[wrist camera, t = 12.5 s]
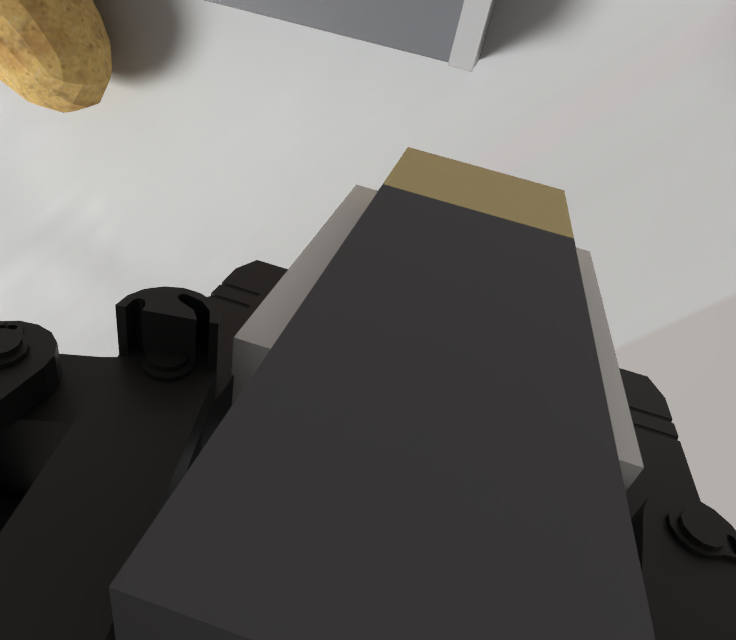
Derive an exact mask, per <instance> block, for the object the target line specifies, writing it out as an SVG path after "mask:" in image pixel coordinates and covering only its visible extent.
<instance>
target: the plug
mask: <svg viewBox="0 0 736 640" xmlns="http://www.w3.org/2000/svg"><path fill="white" fill-rule="evenodd" d="M109 593H110V601H111V608H112V616H113V623H114V630H115V638H116V640H655V635H654V630H653V625H652V620H651V615H650V610H649V605H648V600H647V595H646V591H645V586H644V581H643V576H642V571H641V566H640V561H639V556H638V551H637V546H636V541H635V537H634V532H633V527H632V522H631V517H630V512H629V507H628V502H627V497H626V492H625V487H624V482H623V478H622V473H621V468H620V463H619V458H618V453H617V448H616V443H615V438H614V433H613V428H612V423H611V419H610V414H609V409H608V404H607V399H606V394H605V389H604V384H603V379H602V374H601V369H600V364H599V360H598V355H597V350H596V345H595V340H594V335H593V330H592V325H591V320H590V315H589V310H588V305H587V301H586V296H585V291H584V286H583V281H582V276H581V271H580V266H579V261H578V256H577V251H576V246H575V242H574V237H573V232H572V227H571V222H570V217H569V212H568V207H567V202H566V197H565V192H564V190H561V189H557V188H553V187H550V186H546V185H543V184H539V183H535V182H532V181H528V180H525V179H521V178H517V177H514V176H510V175H507V174H503V173H499V172H496V171H492V170H489V169H485V168H481V167H478V166H474V165H471V164H467V163H463V162H460V161H456V160H453V159H449V158H445V157H442V156H438V155H435V154H431V153H427V152H424V151H420V150H417V149H413V148H409V147H408V148H407V149H406V151H405V152H404V154H403V155H402V157H401V158H400V160H399V161H398V163H397V164H396V166H395V167H394V168H393V170H392V171H391V173H390V174H389V176H388V177H387V179H386V180H385V182H384V183H383V185H382V186H381V188H380V189H379V191H378V192H377V193H376V195H375V196H374V198H373V199H372V201H371V202H370V204H369V205H368V207H367V208H366V210H365V211H364V213H363V214H362V215H361V217H360V218H359V220H358V221H357V223H356V224H355V226H354V227H353V229H352V230H351V232H350V233H349V235H348V236H347V238H346V239H345V240H344V242H343V243H342V245H341V246H340V248H339V249H338V251H337V252H336V254H335V255H334V257H333V258H332V260H331V261H330V262H329V264H328V265H327V267H326V268H325V270H324V271H323V273H322V274H321V276H320V277H319V279H318V280H317V282H316V283H315V285H314V286H313V287H312V289H311V290H310V292H309V293H308V295H307V296H306V298H305V299H304V301H303V302H302V304H301V305H300V307H299V308H298V310H297V311H296V312H295V314H294V315H293V317H292V318H291V320H290V321H289V323H288V324H287V326H286V327H285V329H284V330H283V332H282V333H281V334H280V336H279V337H278V339H277V340H276V342H275V343H274V345H273V346H272V348H271V349H270V351H269V352H268V354H267V355H266V357H265V358H264V359H263V361H262V362H261V364H260V365H259V367H258V368H257V370H256V371H255V373H254V374H253V376H252V377H251V379H250V380H249V381H248V383H247V384H246V386H245V387H244V389H243V390H242V392H241V393H240V395H239V396H238V398H237V399H236V401H235V402H234V404H233V405H232V406H231V408H230V409H229V411H228V412H227V414H226V415H225V417H224V418H223V420H222V421H221V423H220V424H219V426H218V427H217V428H216V430H215V431H214V433H213V434H212V436H211V437H210V439H209V440H208V442H207V443H206V445H205V446H204V448H203V449H202V451H201V452H200V453H199V455H198V456H197V458H196V459H195V461H194V462H193V464H192V465H191V467H190V468H189V470H188V471H187V473H186V474H185V475H184V477H183V478H182V480H181V481H180V483H179V484H178V486H177V487H176V489H175V490H174V492H173V493H172V495H171V496H170V498H169V499H168V500H167V502H166V503H165V505H164V506H163V508H162V509H161V511H160V512H159V514H158V515H157V517H156V518H155V520H154V521H153V523H152V524H151V525H150V527H149V528H148V530H147V531H146V533H145V534H144V536H143V537H142V539H141V540H140V542H139V543H138V545H137V546H136V547H135V549H134V550H133V552H132V553H131V555H130V556H129V558H128V559H127V561H126V562H125V564H124V565H123V567H122V568H121V570H120V571H119V572H118V574H117V575H116V577H115V578H114V580H113V581H112V583H111V584H110V586H109Z"/></svg>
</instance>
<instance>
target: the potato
mask: <svg viewBox="0 0 736 640" xmlns="http://www.w3.org/2000/svg"><path fill="white" fill-rule="evenodd" d="M111 72H112V59H111V46H110V40H109V37H108V35H107V32H106V29H105V26H104V23H103V21H102V18H101V15H100V13H99V11H98V9H97V7H96V6H95V4H94V2H93V0H0V80H1V81H2V82H4V83H5V84H6V85H7V86H9V87H10V88H11V89H13V90H14V91H15V92H16V93H18V94H19V95H20V96H22V97H23V98H24V99H26V100H27V101H29V102H31V103H34V104H36V105H39V106H42V107H46V108H49V109H53V110H56V111H60V112H63V113H64V112H71V111H77V110H80V109H83V108H86V107H89V106H92V105H95V104H98V103H100V101H101V99H102V96H103V94H104V92H105V89H106V87H107V85H108V83H109V80H110V78H111Z"/></svg>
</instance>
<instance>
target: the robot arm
mask: <svg viewBox="0 0 736 640" xmlns="http://www.w3.org/2000/svg"><path fill="white" fill-rule="evenodd" d="M377 192H378V191H377V190H373V189H370V188H366V187H363V186H359V185H356V186H355V187H354V188H353V190H352V191H351V192H350V193H349V195H348V196H347V197H346V198H345V200H344V201H343V202H342V203H341V205H340V206H339V207H338V208H337V210H336V211H335V212H334V213H333V215H332V216H331V217H330V218H329V219H328V221H327V222H326V223H325V224H324V226H323V227H322V228H321V229H320V231H319V232H318V233H317V234H316V236H315V237H314V238H313V239H312V241H311V242H310V243H309V244H308V246H307V247H306V248H305V249H304V251H303V252H302V253H301V254H300V256H299V257H298V258H297V259H296V261H295V262H294V263H293V264H292V266H291V267H290V268H289V269H285V268H281V267H278V266H275V265H271V264H268V263H265V262H262V261H258V260H256V261H254V262H251V263H249V264H246V265H244V266H241V267H239V268H236V269H235V270H234V271H233V272H232V273H231V274H230V275H229V276H228V277H227V278H226V279H225V280H224V281H223V282H222V285H219V286H218V287H217V288H216V289H215V290H214V291H213V292H212V293H211V296H210V297H209V296H208V297H206V296H204V295H202V294H201V293H198V292H195V291H191V290H188V289H185V288H175V287H157V288H149V289H143V290H141V291H138V292H135V293H133V294H130V295H127V296H126V297H125V298H124V299H122V300H121V301H120V302H119V303H117V304H116V305H115V306H116V319H117V331H118V344H119V356H118V357H92V356H80V355H67V354H59V351H58V345H57V342H56V340H55V338H54V336H53V335H52V333H51V332H50V331H48V330H46V329H45V328H43V327H41V326H39V325H37V324H32V323H27V322H22V321H0V640H116V638H115V630H114V623H113V616H112V608H111V601H110V593H109V586H110V584H111V583H112V581H113V580H114V578H115V577H116V575H117V574H118V572H119V571H120V570H121V568H122V567H123V565H124V564H125V562H126V561H127V559H128V558H129V556H130V555H131V553H132V552H133V550H134V549H135V547H136V546H137V545H138V543H139V542H140V540H141V539H142V537H143V536H144V534H145V533H146V531H147V530H148V528H149V527H150V525H151V524H152V523H153V521H154V520H155V518H156V517H157V515H158V514H159V512H160V511H161V509H162V508H163V506H164V505H165V503H166V502H167V500H168V499H169V498H170V496H171V495H172V493H173V492H174V490H175V489H176V487H177V486H178V484H179V483H180V481H181V480H182V478H183V477H184V475H185V474H186V473H187V471H188V470H189V468H190V467H191V465H192V464H193V462H194V461H195V459H196V458H197V456H198V455H199V453H200V452H201V451H202V449H203V448H204V446H205V445H206V443H207V442H208V440H209V439H210V437H211V436H212V434H213V433H214V431H215V430H216V428H217V427H218V426H219V424H220V423H221V421H222V420H223V418H224V417H225V415H226V414H227V412H228V411H229V409H230V408H231V406H232V405H233V404H234V402H235V401H236V399H237V398H238V396H239V395H240V393H241V392H242V390H243V389H244V387H245V386H246V384H247V383H248V381H249V380H250V379H251V377H252V376H253V374H254V373H255V371H256V370H257V368H258V367H259V365H260V364H261V362H262V361H263V359H264V358H265V357H266V355H267V354H268V352H269V351H270V349H271V348H272V346H273V345H274V343H275V342H276V340H277V339H278V337H279V336H280V334H281V333H282V332H283V330H284V329H285V327H286V326H287V324H288V323H289V321H290V320H291V318H292V317H293V315H294V314H295V312H296V311H297V310H298V308H299V307H300V305H301V304H302V302H303V301H304V299H305V298H306V296H307V295H308V293H309V292H310V290H311V289H312V287H313V286H314V285H315V283H316V282H317V280H318V279H319V277H320V276H321V274H322V273H323V271H324V270H325V268H326V267H327V265H328V264H329V262H330V261H331V260H332V258H333V257H334V255H335V254H336V252H337V251H338V249H339V248H340V246H341V245H342V243H343V242H344V240H345V239H346V238H347V236H348V235H349V233H350V232H351V230H352V229H353V227H354V226H355V224H356V223H357V221H358V220H359V218H360V217H361V215H362V214H363V213H364V211H365V210H366V208H367V207H368V205H369V204H370V202H371V201H372V199H373V198H374V196H375V195H376V193H377ZM576 251H577V256H578V261H579V266H580V271H581V276H582V281H583V286H584V291H585V296H586V301H587V305H588V310H589V315H590V320H591V325H592V330H593V335H594V340H595V345H596V350H597V355H598V360H599V364H600V369H601V374H602V379H603V384H604V389H605V394H606V399H607V404H608V409H609V414H610V419H611V423H612V428H613V433H614V438H615V443H616V448H617V453H618V458H619V463H620V468H621V473H622V478H623V482H624V487H625V492H626V497H627V502H628V507H629V512H630V517H631V522H632V527H633V532H634V537H635V541H636V546H637V551H638V556H639V561H640V566H641V571H642V576H643V581H644V586H645V591H646V595H647V600H648V605H649V610H650V615H651V620H652V625H653V630H654V635H655V640H736V530H735V529H734V528H733V526H732V525H731V524H730V523H729V522H727V521H726V520H725V519H724V518H723V517H722V516H721V515H719V514H718V513H717V512H716V511H715V510H714V509H712V508H710V507H709V506H707V505H705V504H704V503H702V502H701V501H700V498H699V495H698V492H697V490H696V487H695V484H694V481H693V478H692V475H691V472H690V469H689V466H688V463H687V460H686V458H685V455H684V452H683V449H682V446H681V443H680V441H677V439H678V434H677V431H676V428H675V425H674V423H671V421H672V417H671V414H670V411H669V408H668V405H667V402H666V400H665V397H664V396H663V395H662V394H661V392H660V391H659V390H658V389H657V388H656V386H655V385H654V384H653V383H652V381H651V380H650V379H649V378H648V377H647V376H644V375H640V374H637V373H634V372H630V371H627V370H624V369H620V368H619V366H618V362H617V358H616V354H615V350H614V346H613V342H612V338H611V334H610V330H609V326H608V322H607V318H606V314H605V310H604V306H603V302H602V298H601V294H600V290H599V286H598V282H597V278H596V274H595V270H594V266H593V262H592V258H591V254H590V251H586V250H583V249H579V248H576Z"/></svg>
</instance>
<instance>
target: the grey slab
mask: <svg viewBox="0 0 736 640" xmlns="http://www.w3.org/2000/svg"><path fill="white" fill-rule="evenodd" d="M205 1H209V2H213V3H217V4H221V5H225V6H229V7H233V8H237V9H241V10H245V11H249V12H253V13H256V14H260V15H264V16H268V17H272V18H276V19H280V20H284V21H288V22H292V23H296V24H300V25H304V26H308V27H312V28H315V29H319V30H323V31H327V32H331V33H335V34H339V35H343V36H347V37H351V38H355V39H359V40H363V41H367V42H371V43H374V44H378V45H382V46H386V47H390V48H394V49H398V50H402V51H406V52H410V53H414V54H418V55H422V56H426V57H430V58H433V59H437V60H441V61H445V62H448V66H450V67H454V68H458V69H462V70H466V71H470V72H472V70H473V69H474V67H475V65H476V64H477V62H478V61H479V57H480V54H481V50H482V47H483V43H484V40H485V36H486V33H487V29H488V26H489V22H490V19H491V15H492V12H493V8H494V4H495V1H496V0H205Z"/></svg>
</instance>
